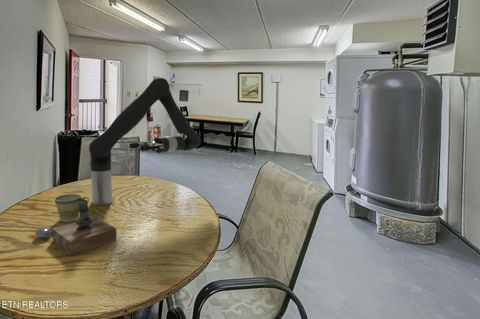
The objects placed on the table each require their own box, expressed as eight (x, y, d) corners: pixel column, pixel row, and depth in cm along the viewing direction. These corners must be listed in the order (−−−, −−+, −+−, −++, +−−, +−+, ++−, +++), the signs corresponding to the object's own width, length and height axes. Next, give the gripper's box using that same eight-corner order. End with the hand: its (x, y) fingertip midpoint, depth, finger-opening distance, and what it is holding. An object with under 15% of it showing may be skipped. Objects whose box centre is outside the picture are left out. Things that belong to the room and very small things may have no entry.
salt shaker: (79, 224, 114) (78, 194, 112) (96, 225, 115) (94, 194, 113) (72, 231, 108) (70, 199, 106) (89, 231, 109) (88, 199, 107)
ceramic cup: (55, 225, 125) (53, 202, 123) (57, 216, 134) (55, 195, 132) (90, 220, 131) (89, 198, 129) (89, 212, 140) (88, 192, 138)
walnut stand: (53, 241, 111) (52, 228, 110) (96, 228, 123) (95, 216, 122) (71, 256, 101) (70, 242, 100) (116, 240, 113) (116, 228, 113)
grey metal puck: (34, 237, 114) (33, 229, 113) (49, 233, 118) (48, 226, 117) (38, 241, 111) (38, 233, 110) (53, 237, 114) (53, 229, 114)
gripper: (156, 135, 149) (126, 137, 136) (174, 138, 140) (144, 140, 128) (156, 150, 150) (126, 153, 138) (174, 154, 141) (144, 157, 129)
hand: (135, 147), depth 133 cm, fingers open, 8 cm apart
